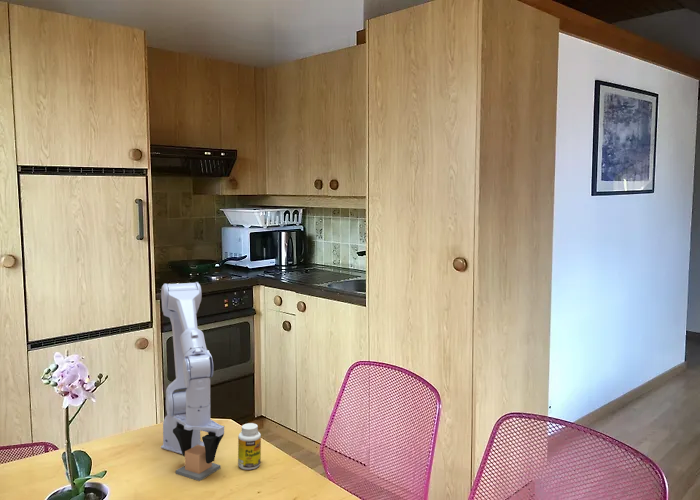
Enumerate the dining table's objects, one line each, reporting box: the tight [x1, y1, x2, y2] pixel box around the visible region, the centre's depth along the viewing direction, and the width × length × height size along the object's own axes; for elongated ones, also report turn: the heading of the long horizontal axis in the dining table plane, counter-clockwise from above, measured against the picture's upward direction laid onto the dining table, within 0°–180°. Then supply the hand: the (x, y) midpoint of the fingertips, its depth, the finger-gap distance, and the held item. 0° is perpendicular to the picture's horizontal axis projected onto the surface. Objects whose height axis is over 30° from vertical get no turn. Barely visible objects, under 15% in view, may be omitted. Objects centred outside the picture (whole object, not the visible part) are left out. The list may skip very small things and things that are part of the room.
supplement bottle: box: [237, 422, 262, 471], centre depth 143 cm, size 6×6×10 cm
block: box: [184, 445, 213, 474], centre depth 140 cm, size 4×4×4 cm
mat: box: [175, 462, 222, 482], centre depth 140 cm, size 8×8×1 cm
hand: (198, 458), depth 140 cm, fingers open, 7 cm apart
